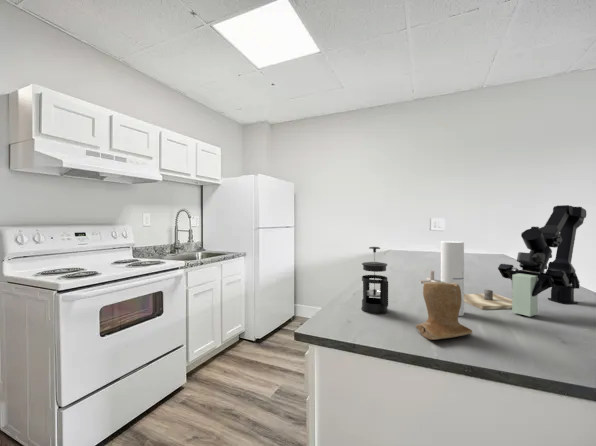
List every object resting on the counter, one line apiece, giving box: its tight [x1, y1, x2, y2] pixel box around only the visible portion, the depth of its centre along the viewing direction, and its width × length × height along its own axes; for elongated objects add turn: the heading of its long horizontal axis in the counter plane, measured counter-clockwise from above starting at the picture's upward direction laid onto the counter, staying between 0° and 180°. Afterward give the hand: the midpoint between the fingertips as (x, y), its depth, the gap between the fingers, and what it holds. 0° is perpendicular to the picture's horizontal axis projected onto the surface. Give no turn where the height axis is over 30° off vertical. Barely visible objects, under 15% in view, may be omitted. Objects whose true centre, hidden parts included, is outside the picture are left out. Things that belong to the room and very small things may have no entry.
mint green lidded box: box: [511, 273, 539, 318], centre depth 97 cm, size 5×5×13 cm
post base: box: [464, 289, 512, 310], centre depth 112 cm, size 18×16×5 cm
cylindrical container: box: [440, 240, 465, 317], centre depth 99 cm, size 7×7×25 cm
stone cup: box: [415, 282, 473, 341], centre depth 81 cm, size 15×12×15 cm
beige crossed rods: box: [419, 269, 441, 285], centre depth 126 cm, size 10×10×10 cm
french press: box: [361, 246, 389, 315], centre depth 102 cm, size 12×9×23 cm
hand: (522, 293), depth 96 cm, fingers closed on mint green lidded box, 5 cm apart
